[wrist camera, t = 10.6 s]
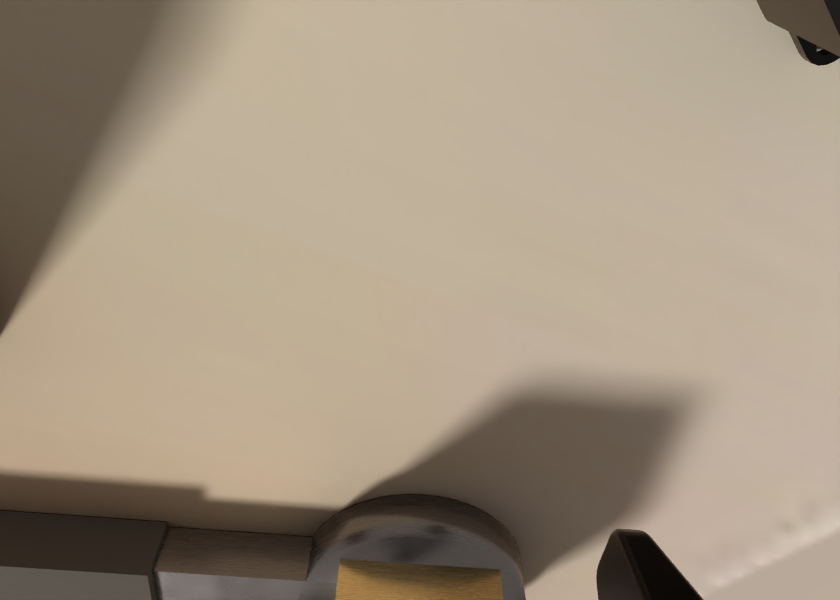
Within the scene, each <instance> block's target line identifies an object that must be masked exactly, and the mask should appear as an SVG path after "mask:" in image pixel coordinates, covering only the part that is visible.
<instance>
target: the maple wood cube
mask: <svg viewBox="0 0 840 600" xmlns="http://www.w3.org/2000/svg"><path fill="white" fill-rule="evenodd" d="M335 600H503V591H502V582H501V573H500V569H485V568H470V567H455V566H441V565H426V564H411V563H396V562H381V561H366V560H351V559H340V563H339V572H338V580H337V589H336V598H335Z"/></svg>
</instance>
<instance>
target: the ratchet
mask: <svg viewBox="0 0 840 600" xmlns="http://www.w3.org/2000/svg"><path fill="white" fill-rule="evenodd" d="M340 559H351V560H366V561H381V562H396V563H411V564H426V565H441V566H455V567H470V568H485V569H500V573H501V582H502V591H503V600H526V598H525V591H524V584H523V577H522V570H521V563H520V556H519V551H518V547H517V545H516V543H515V541H514V539H513V537H512V536H511V535H510V533H509V532H508V530H507V529H506V528H505V527H504V526H503V525H502V524H501V523H500V522H498V521H497V520H496V519H494V518H493V517H492V516H490V515H489V514H487V513H485V512H483V511H482V510H480V509H478V508H475V507H473V506H471V505H468V504H465V503H462V502H459V501H456V500H452V499H448V498H443V497H437V496H429V495H394V496H388V497H381V498H376V499H372V500H368V501H365V502H362V503H359V504H356V505H353V506H351V507H349V508H347V509H345V510H343V511H341V512H339V513H338V514H336V515H335V516H333V517H331V518H330V519H329V520H328V521H326V522H325V523H324V524H323V525H322V526H321V527H320V528H319V529H318V530H317V532H316V533H315V534H314V536H313V537H304V536H289V535H275V534H261V533H246V532H232V531H218V530H203V529H189V528H174V527H168V523H167V522H158V521H143V520H129V519H115V518H101V517H86V516H72V515H58V514H44V513H29V512H15V511H1V510H0V600H335V598H336V589H337V580H338V572H339V563H340Z"/></svg>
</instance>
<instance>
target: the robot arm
mask: <svg viewBox="0 0 840 600" xmlns="http://www.w3.org/2000/svg"><path fill="white" fill-rule="evenodd" d="M757 2H758V4H759V6H760V8H761V10H762V13H763V15H764V17H765V18H766V20H768V21H769V22H771V23H773V24H775V25H777V26H779V27H781V28H783V29H785V30H787V31H789V33H790V35H791V37H792V39H793V41H794V43H795V45H796V48H797V50H798V52H799V54H800V55H801V56H802V57H803V58H804V59H805V60H807V61H809V62H810V63H813V64H816V65H827V64H829V63H832V62H834V61H836V60H837V59H839V58H840V0H757ZM816 45H817V46H819V47H821V48H823V49H822V50H820V51H817V50H816ZM597 590H598V599H599V600H703V599H702V597H701V596H700V595H699V594H698V593H697V591H696V590H695V589H694V588H693V587H692V585H691V584H690V583H689V582H688V581H687V580H686V578H685V577H684V576H683V575H682V574H681V572H680V571H679V570H678V569H677V568H676V566H675V565H674V564H673V563H672V562H671V560H670V559H669V558H668V557H667V556H666V555H665V553H664V552H663V551H662V550H661V549H660V547H659V546H658V545H657V544H656V543H655V541H654V540H653V539H652V538H651V537H650V536H649V535H648V534H647V533H645V532H644V531H640V530H629V529H616V530H614V531H613V532H612V534H611V535H610V538H609V540H608V543H607V545H606V547H605V550H604V552H603V555H602V557H601V560H600V562H599V565H598V569H597Z"/></svg>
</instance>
